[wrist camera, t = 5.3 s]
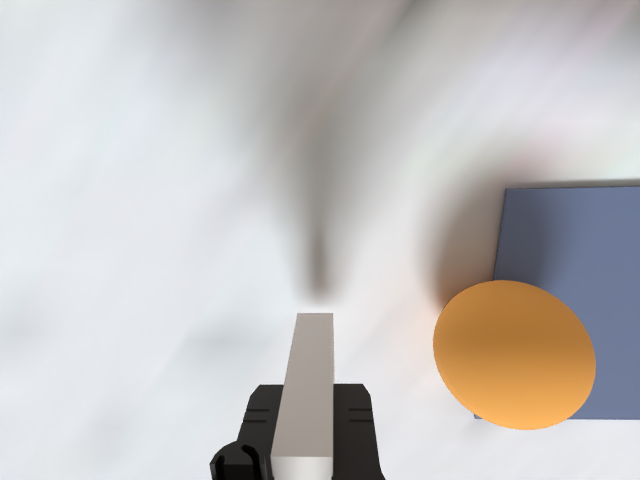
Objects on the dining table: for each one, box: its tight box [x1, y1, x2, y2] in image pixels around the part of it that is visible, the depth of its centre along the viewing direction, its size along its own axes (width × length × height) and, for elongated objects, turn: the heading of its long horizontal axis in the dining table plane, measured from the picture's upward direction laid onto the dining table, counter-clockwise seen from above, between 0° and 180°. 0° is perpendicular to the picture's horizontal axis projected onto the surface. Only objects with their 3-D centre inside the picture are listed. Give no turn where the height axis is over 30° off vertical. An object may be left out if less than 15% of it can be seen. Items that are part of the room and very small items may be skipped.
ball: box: [433, 280, 596, 430], centre depth 14 cm, size 6×6×6 cm
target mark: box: [474, 186, 640, 420], centre depth 16 cm, size 12×12×1 cm
